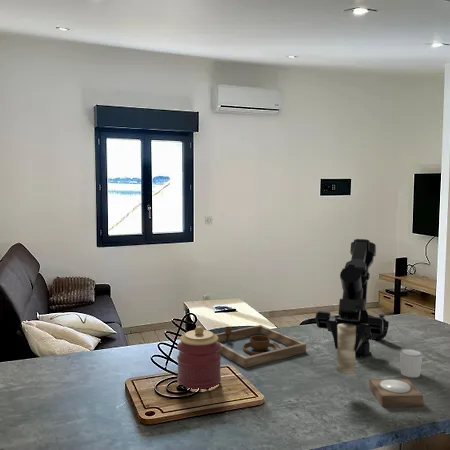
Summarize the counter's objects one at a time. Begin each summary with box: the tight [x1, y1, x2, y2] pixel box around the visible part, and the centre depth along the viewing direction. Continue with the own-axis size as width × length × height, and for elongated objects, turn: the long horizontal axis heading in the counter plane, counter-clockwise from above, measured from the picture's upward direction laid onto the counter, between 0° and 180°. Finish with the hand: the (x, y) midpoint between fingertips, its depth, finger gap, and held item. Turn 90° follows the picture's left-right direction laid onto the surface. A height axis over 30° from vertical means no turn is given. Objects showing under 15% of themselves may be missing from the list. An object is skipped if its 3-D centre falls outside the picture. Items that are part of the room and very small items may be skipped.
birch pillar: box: [336, 323, 356, 375], centre depth 135 cm, size 5×5×13 cm
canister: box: [176, 325, 222, 389], centre depth 142 cm, size 13×13×18 cm
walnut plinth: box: [368, 378, 424, 407], centre depth 135 cm, size 11×11×3 cm
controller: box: [369, 314, 390, 341], centre depth 185 cm, size 4×12×10 cm, turn 25°
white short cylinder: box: [399, 348, 424, 378], centre depth 151 cm, size 7×7×7 cm
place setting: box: [224, 326, 282, 356], centre depth 175 cm, size 18×20×6 cm
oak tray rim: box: [214, 324, 307, 369], centre depth 173 cm, size 26×26×3 cm
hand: (345, 349), depth 134 cm, fingers closed on birch pillar, 5 cm apart
